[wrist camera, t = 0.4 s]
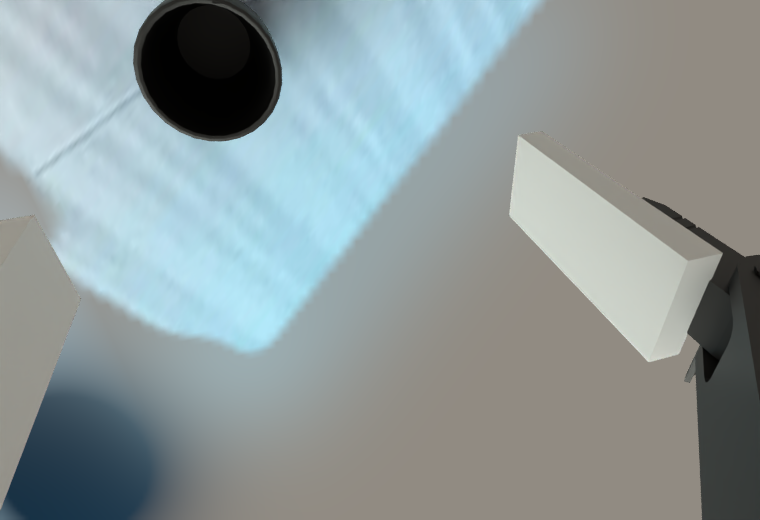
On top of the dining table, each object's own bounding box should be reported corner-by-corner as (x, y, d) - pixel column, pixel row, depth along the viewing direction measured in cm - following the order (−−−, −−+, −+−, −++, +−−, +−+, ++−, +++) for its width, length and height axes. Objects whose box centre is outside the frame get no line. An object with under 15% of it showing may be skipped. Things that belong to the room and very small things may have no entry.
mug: (252, -91, 32) (260, -96, 24) (278, 93, 39) (290, 134, 31) (119, -88, 30) (83, -92, 23) (171, 104, 37) (156, 149, 30)
